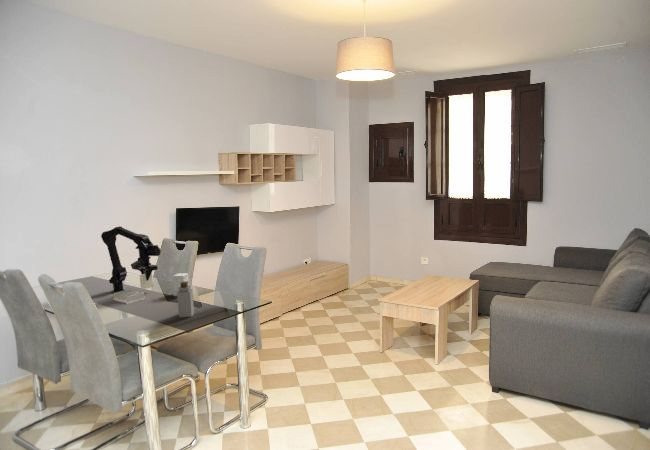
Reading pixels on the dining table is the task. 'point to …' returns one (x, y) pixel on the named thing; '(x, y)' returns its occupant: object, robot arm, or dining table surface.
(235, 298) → the dining table surface
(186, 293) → the perfume bottle
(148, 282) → the cream rectangular tile
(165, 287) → the dining table surface
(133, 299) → the rack
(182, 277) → the supplement box
